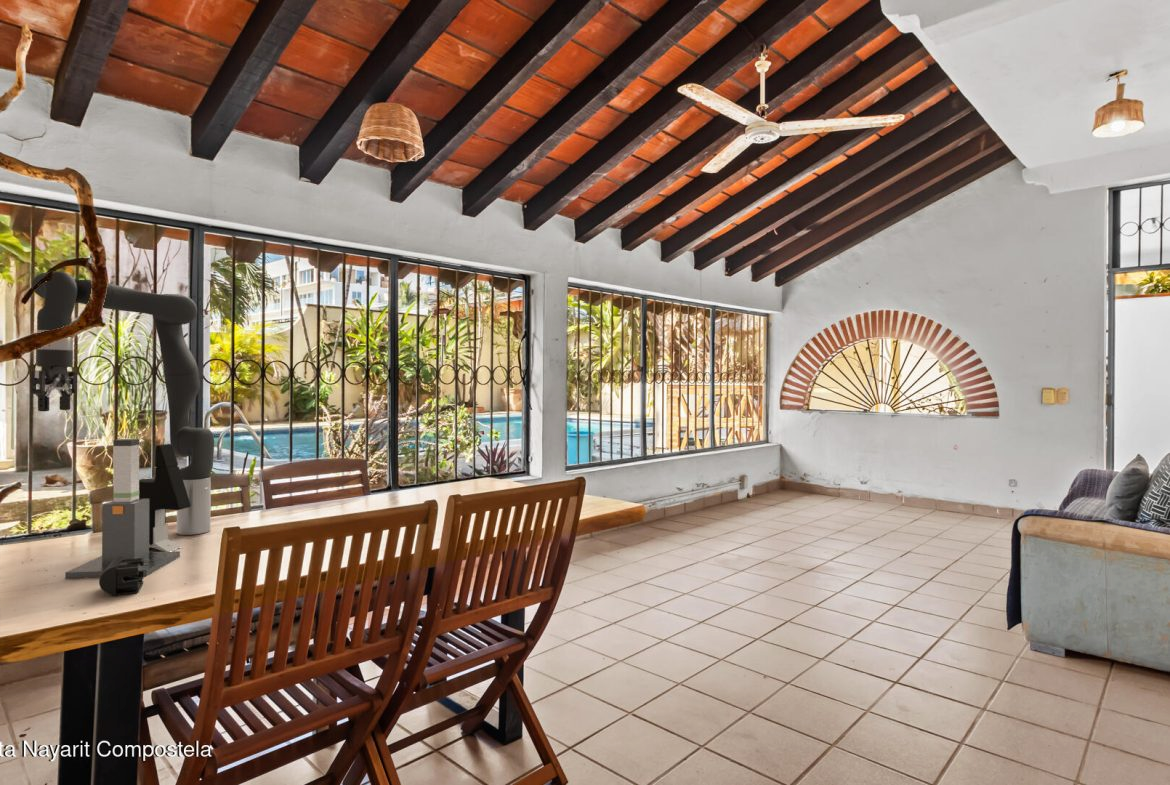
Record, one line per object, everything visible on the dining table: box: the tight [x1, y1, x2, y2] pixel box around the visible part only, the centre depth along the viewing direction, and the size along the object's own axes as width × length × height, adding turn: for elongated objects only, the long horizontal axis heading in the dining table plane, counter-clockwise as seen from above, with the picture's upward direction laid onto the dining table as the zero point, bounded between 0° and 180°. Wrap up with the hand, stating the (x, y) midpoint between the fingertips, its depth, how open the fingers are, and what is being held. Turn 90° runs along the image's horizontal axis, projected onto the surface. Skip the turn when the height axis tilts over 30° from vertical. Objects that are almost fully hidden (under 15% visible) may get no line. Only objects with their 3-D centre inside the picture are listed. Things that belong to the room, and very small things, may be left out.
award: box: [139, 443, 191, 552], centre depth 185 cm, size 15×5×30 cm, turn 84°
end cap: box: [98, 557, 145, 597], centre depth 149 cm, size 10×7×7 cm
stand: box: [64, 499, 181, 579], centre depth 167 cm, size 18×18×17 cm
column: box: [112, 438, 141, 503], centre depth 167 cm, size 4×4×25 cm
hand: (54, 410), depth 170 cm, fingers open, 8 cm apart
